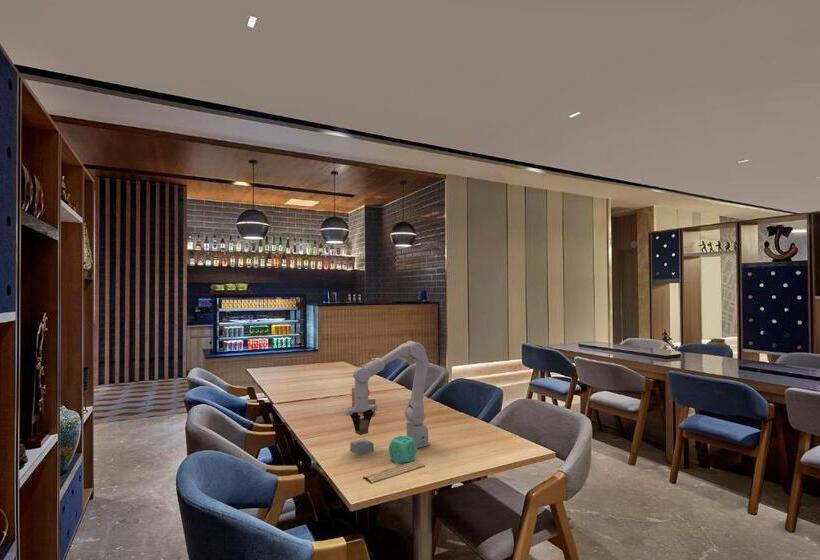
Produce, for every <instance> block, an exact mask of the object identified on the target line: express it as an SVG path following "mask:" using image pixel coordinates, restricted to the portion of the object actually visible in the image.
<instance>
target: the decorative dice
mask: <svg viewBox="0 0 820 560" xmlns="http://www.w3.org/2000/svg"><path fill="white" fill-rule="evenodd" d="M417 449H418V448H417V446H416V443H415V441H414V440H413V439H412V438H411V437H409V436H407V435H400V436H399V435H398V436H395V437H393V438H392V439H391V441H390V443H389V445H388V454H389V457H390V458H391V460H392V462H394V463H395V464H396V463H397V464H401V465H403V464H406V463H410V462H413V461H414V459H415V458H416V455H417V451H418V450H417Z"/></svg>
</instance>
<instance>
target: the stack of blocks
mask: <svg viewBox="0 0 820 560" xmlns="http://www.w3.org/2000/svg"><path fill="white" fill-rule="evenodd" d="M372 404H376V398H375V397H374V396H372V395H370V389H368V405H372ZM376 405H377V404H376ZM353 407H355V386H353V387H351V408H353ZM372 411H373V412H374V414H373V416H372V417H375V416H376V410H372ZM359 415H360V416H363V412H360V413H359Z"/></svg>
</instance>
